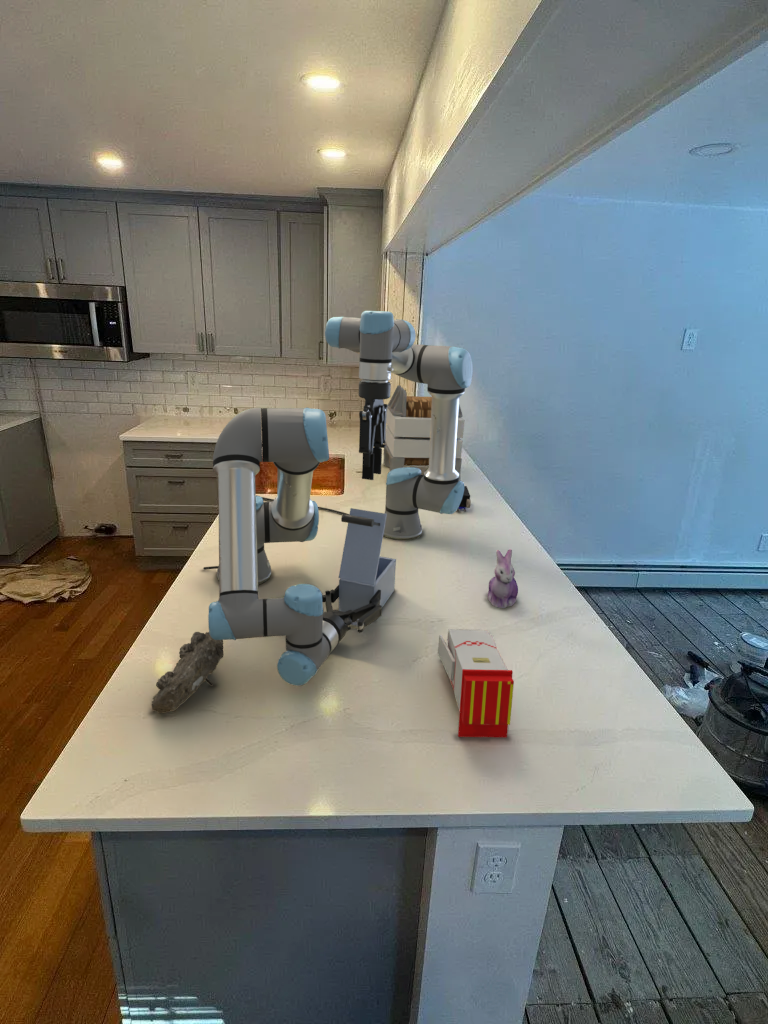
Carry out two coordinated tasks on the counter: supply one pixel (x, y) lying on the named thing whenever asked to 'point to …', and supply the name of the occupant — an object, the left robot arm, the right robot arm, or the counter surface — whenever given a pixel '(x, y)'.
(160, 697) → the fossil
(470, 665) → the toy
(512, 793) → the counter surface
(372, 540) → the door
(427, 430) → the light grey slatted box
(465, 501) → the figurine character
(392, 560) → the chest
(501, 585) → the figurine
